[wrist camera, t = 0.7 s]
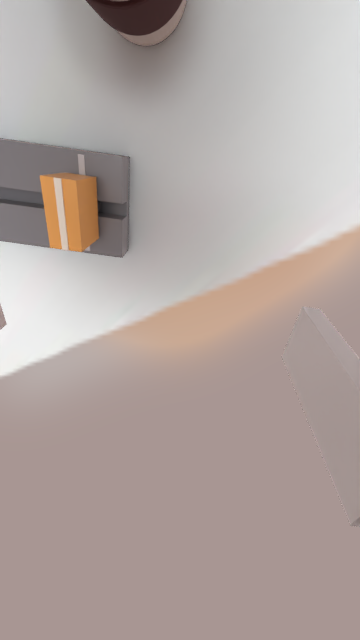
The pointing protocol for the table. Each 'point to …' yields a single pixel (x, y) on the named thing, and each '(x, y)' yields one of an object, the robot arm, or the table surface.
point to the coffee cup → (141, 18)
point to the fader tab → (70, 210)
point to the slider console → (27, 200)
